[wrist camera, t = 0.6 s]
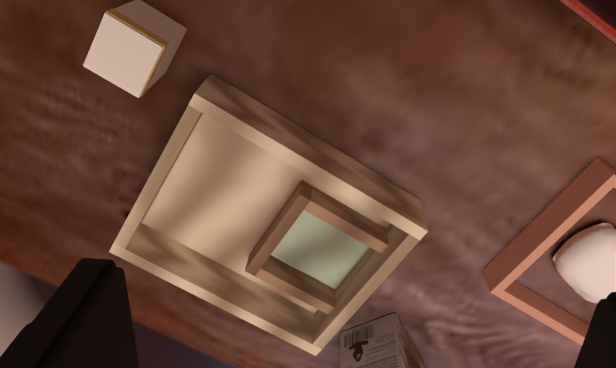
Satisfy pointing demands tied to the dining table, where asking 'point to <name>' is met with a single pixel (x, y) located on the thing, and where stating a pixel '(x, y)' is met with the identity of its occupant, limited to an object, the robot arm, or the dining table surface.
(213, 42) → the dining table surface
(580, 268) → the garlic
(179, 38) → the small white lidded box
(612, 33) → the plant pot
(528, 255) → the garlic dish
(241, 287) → the walled box
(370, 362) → the coffee box
